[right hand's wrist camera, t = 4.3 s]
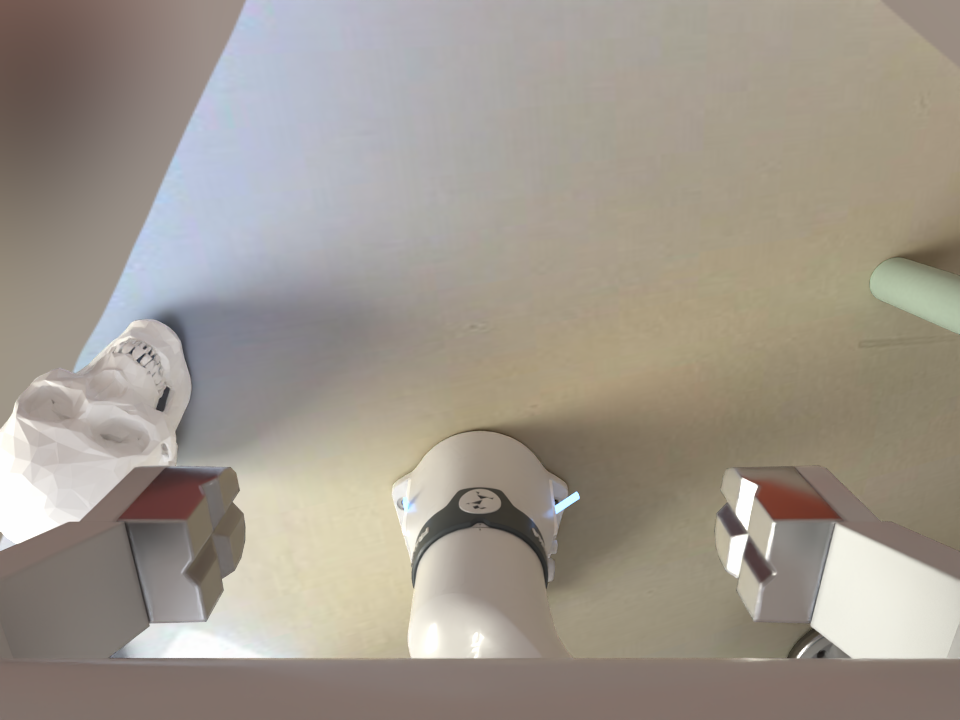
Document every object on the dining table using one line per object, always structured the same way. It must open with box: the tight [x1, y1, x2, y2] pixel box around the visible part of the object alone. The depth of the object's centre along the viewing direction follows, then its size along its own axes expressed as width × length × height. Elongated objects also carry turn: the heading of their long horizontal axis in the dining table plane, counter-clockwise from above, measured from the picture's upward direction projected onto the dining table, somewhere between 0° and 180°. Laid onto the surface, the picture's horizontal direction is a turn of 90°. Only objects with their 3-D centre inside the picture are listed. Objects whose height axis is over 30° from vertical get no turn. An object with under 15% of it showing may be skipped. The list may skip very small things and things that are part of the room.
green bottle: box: [870, 257, 960, 335], centre depth 51 cm, size 4×4×15 cm
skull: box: [0, 319, 192, 544], centre depth 55 cm, size 13×22×16 cm, turn 156°
